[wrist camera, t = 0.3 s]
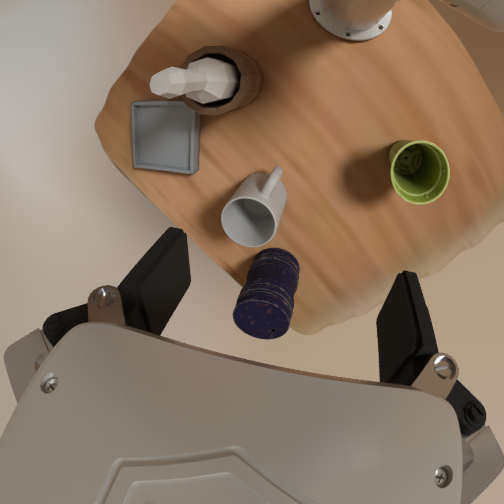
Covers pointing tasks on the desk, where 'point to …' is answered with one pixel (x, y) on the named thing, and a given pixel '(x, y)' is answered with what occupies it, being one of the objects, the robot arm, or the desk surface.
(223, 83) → the faceted bottle
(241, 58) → the holder
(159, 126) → the tray
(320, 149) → the desk surface
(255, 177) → the mug
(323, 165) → the desk surface
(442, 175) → the plant pot
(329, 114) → the desk surface
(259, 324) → the storage jar
